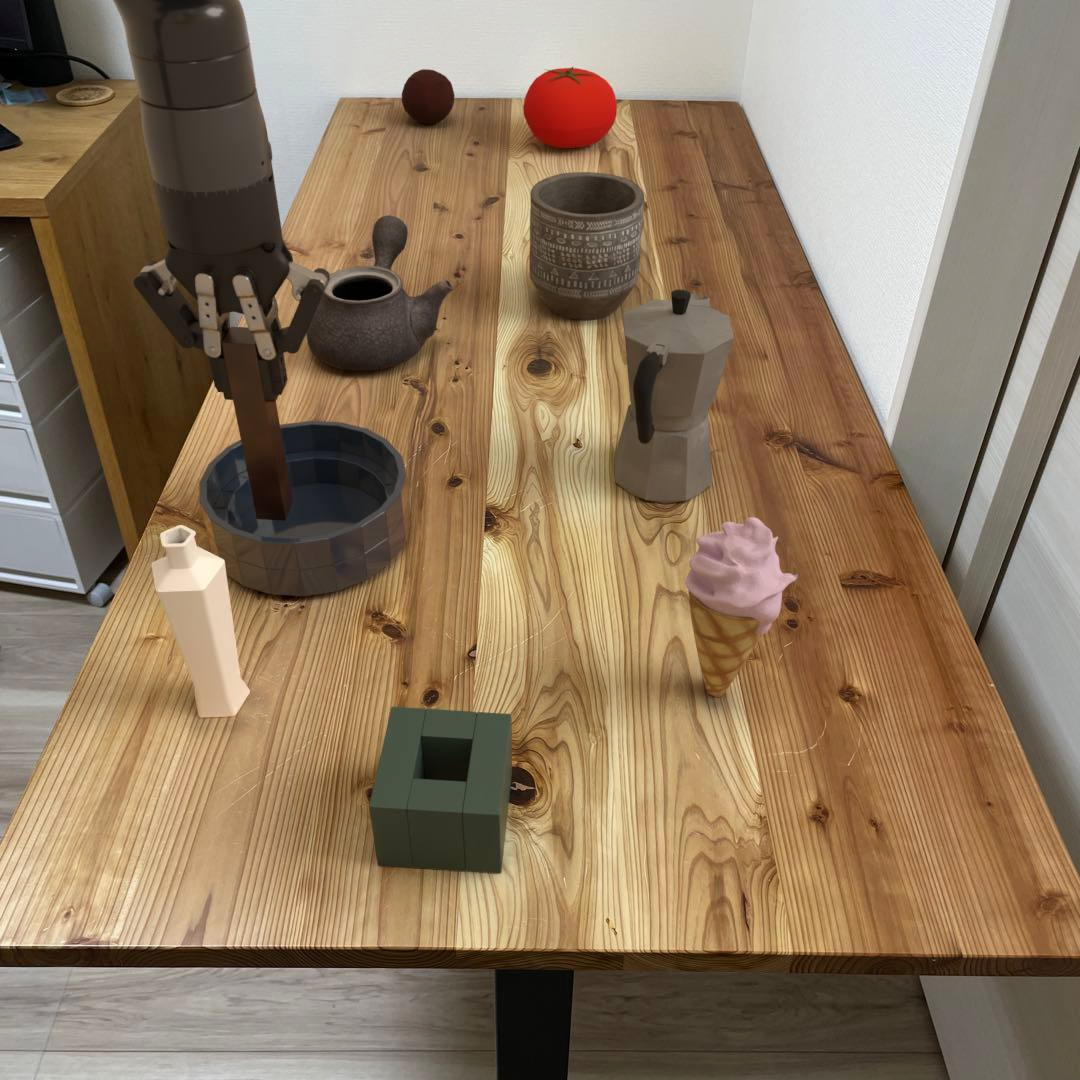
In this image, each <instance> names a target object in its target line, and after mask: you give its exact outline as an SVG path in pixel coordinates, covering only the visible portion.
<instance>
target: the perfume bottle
mask: <svg viewBox="0 0 1080 1080" xmlns="http://www.w3.org/2000/svg"><path fill="white" fill-rule="evenodd" d="M196 534H197V532H196V531H195V530H194V529H192V528H189V527H187V526H186V525H183V524H179V525H176V526H173V527H171V528H169V529H165V530H164V531H161V533H159V536H160V537H159V538H160V542H161V546H162V547H163V548H164V549H165V554H166V555H165V556H163V557H161V558H159V559H157V560H154V561H152V562H151V571H152V578H153V582H154V588H155V589H154V590H155V591H156V594H157V597H158V599H159V601H160V604H161V607H162V609H163V611H164V615H165V616H166V619H167V621H168V624H169V627H170V629H171V631H172V634H173V637H174V639H175V642H176V644H177V646H178V650H179V652H180V655H181V657H182V659H183V662H184V664H185V667H186V670H187V672H188V675H189V677H190V679H191V682H192V685H193V687H194V700H195V704H196V709H197V710H196V711H197V714H198V717H199V718H202V719H204V718H231V717H235V716H236V715H237V714H238V713H239V711H240V710H241V708H242V706H243V704H244V703H245V701H246V699H247V698H248V697H249V695H250V693H251V690H250V688H249V687H248V685H247V684H246V683H245V681H244V680H243V678H242V677H241V669H240V662H239V655H238V649H237V648H238V647H237V642H236V633H235V627H234V618H233V612H232V606H231V604H232V603H231V597H230V591H229V584H228V583H229V582H228V575H227V574H226V568H225V561H224V560H223V559H222V558H220V557H218V556H216V555H214V554H212V552H210V551H207V550H205V548H202V547H200V546H198V545H197V542H196V539H195V536H196Z"/></svg>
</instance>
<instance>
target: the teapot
mask: <svg viewBox="0 0 1080 1080" xmlns="http://www.w3.org/2000/svg"><path fill="white" fill-rule="evenodd" d="M408 230H409V229H408V226H407V225H406V223H405V222H404V221H403V220H402V219H401V218H399V217H397V216H394V215H389V214H388V215H383V216H381V217H379V218H377V219H376V221H375V223H374V224H373V229H372V234H371V242H372V249H373V252H374V253H373V254H374V264H373V265H355V266H348V267H346V268H342V269H338V270H336V271H333V272H332V273H329V275H330V280H329V282H328V284H327V287H326V289H325V291H324V294H323V296H322V298H321V301H320V303H319V305H318V308H317V310H316V312H315V315H314V317H313V319H312V322H311V324H310V326H309V329H308V331H307V333H306V342H307V345H308V348H309V350H310V352H311V353H312V354H313V356H314V357H316V359H318V360H319V361H321V362H323V363H324V364H325V365H327V366H331V367H334V368H337V369H341V370H342V369H343V370H347V371H348V370H349V371H379V370H383V369H388V368H392V367H395V366H399V365H400V364H403V363H405V362H407V361H408V360H410V359H411V358H413V357H415V355H417V354H418V352H419V351H420V350H421V349H422V347H423V346H424V345H425V344H426V342H427V340H428V339H430V338H431V337H433V336H434V334H435V333H436V329H437V325H438V324H437V323H438V318H439V314H440V309H441V307H442V304H443V302H444V301H445V299H446V298H447V296H448V295H449V294H450V293H451V292H452V291H453V290H454V285H453V284H452V283H451V282H450V281H449V280H447V279H442V280H441V281H439V282H437V283H435V284H432V286H430V287H429V288H428V289H426V290H425V291H424V292H423V293H422V294H419V295H416V296H411V295H408V294H407V292H406V290H405V289H404V288H403V285H404V282H403V279H402V278H401V276H400V275H399V274H397V272H395V271H393V270H392V267H393V265H394V263H395V261H396V259H397V258H398V256H399V255H400V254H401V253H402V252H403V251H404V249H405V248H406V246H407V241H408V235H409V234H408V233H409V231H408Z"/></svg>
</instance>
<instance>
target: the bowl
mask: <svg viewBox="0 0 1080 1080" xmlns="http://www.w3.org/2000/svg"><path fill="white" fill-rule="evenodd" d="M280 429H281V435H282V441H283V447H284V453H285V458H286V464H287V470H288V476H289V482H290V488H291V494H292V500H293V503H292V506H291V509H290V511H289V514H288V516H287V519H286V521H284V520H264V519H257V518H256V513H255V508H254V503H253V498H252V493H251V488H250V483H249V478H248V473H247V468H246V463H245V458H244V453H243V448H242V443H241V439H238V440H237V441H235V442H233V443H231V444H230V445H228V446H226V447H225V448H223V450H222V451H221V452H220V453H219V454H218V455H217V456H215V457H214V458H213V459H212V460H211V461H210V462H209V463H208V464H207V466H206V468H205V470H204V472H203V474H202V476H201V478H200V480H199V482H198V494H199V495H198V498H199V499H198V500H199V501H198V502H199V505H200V509H201V514H202V518H203V522H204V526H205V530H206V534H207V539H208V541H209V542H208V543H209V546H210V550H211V553H212V554H214V555H216V556H218V557H220V558H222V559H223V560H224V561H225V568H226V575H227V577H230V578H231V579H233V580H234V581H236V582H237V583H239V584H240V585H241V586H243V587H246V588H250V589H252V590H256V591H260V592H262V593H265V594H268V595H274V596H275V595H276V596H294V597H308V596H309V597H310V596H314V595H315V596H316V595H323V594H328V593H334V592H335V593H336V592H338V591H342V590H344V589H346V588H350V587H351V586H354V585H357V584H359V583H362V582H364V581H367V580H369V579H370V578H372V577H373V576H374V575H376V574H377V573H379V572H380V571H382V570H383V569H385V568H386V567H388V566H389V565H390V564H392V563H393V561H394V560H395V559H396V557H397V556H398V554H400V552H401V551H402V549H403V548H404V547H405V545H406V544H407V541H408V536H409V532H410V528H411V525H412V524H411V523H412V522H411V513H410V512H411V511H410V501H409V500H410V499H409V489H408V477H407V471H406V467H405V463H404V459H403V456H402V454H401V453H400V452H399V451H398V450H397V448H396V447H395V446H394V445H393V444H392V443H391V442H390V440H388V439H387V438H386V437H383V436H382V435H380V434H378V433H376V432H374V431H373V430H371V429H368V428H366V427H363V426H362V427H361V426H358V425H354V424H349V423H345V422H342V421H327V420H326V421H325V420H323V421H322V420H305V421H299V422H291V423H283V424H280Z"/></svg>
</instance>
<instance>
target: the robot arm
mask: <svg viewBox="0 0 1080 1080" xmlns="http://www.w3.org/2000/svg"><path fill="white" fill-rule="evenodd" d="M112 2H113V4H114V6H115V8H116V10H117V12H118V14H119V16H120V19H121V21H122V24H123V28H124V32H125V39H126V44H127V48H128V53H129V58H130V62H131V67H132V72H133V77H134V80H135V85H136V90H137V93H138V101H139V106H140V108H139V109H140V118H141V120H140V121H141V129H142V136H143V141H144V146H145V152H146V155H147V160H148V164H149V169H150V173H151V178H152V182H153V187H154V193H155V196H156V201H157V205H158V208H159V209H158V210H159V214H160V219H161V224H162V228H163V233H164V236H165V238H166V241H167V249H166V252H165V254H164V259H162V260H160V261H156V260H149V261H148V262H146V264H145V265H144V266H143V267H142V269H141V270H140V272H139V273H138V274H137V275H136V276H135V278H134V279H133V285H134V288H135V289H136V290H137V292H138V293H139V294H140V296H141V297H142V298H143V299H144V301H145V302H146V303H147V305H148V306H149V307H150V308H151V310H152V311H153V312H154V313H155V315H156V316H157V318H158V319H159V320H160V321H161V322H162V324H163V325H164V327H165V328H166V329H167V330H168V332H169V333H170V335H171V336H172V337H173V339H174V340H175V341H176V342H177V343H178V345H179V346H181V347H182V348H184V349H186V350H187V349H192V348H196V349H199V350H201V351H203V352H204V353H205V354H206V355H207V357H208V361H209V366H210V371H211V374H212V379H213V385H214V388H215V389H216V391H217V392H218V393H222V394H223V398H224V400H225V401H226V400H227V401H233V398H232V393H231V387H230V382H229V377H228V372H227V367H226V362H225V357H224V352H223V347H222V342H223V340H224V338H225V336H226V335H227V333H228V331H229V329H230V328H231V319H230V315H231V313H237V314H240V315H243V316H244V319H245V323H246V325H247V327H248V329H249V331H250V332H252V333H253V335H254V338H255V342H256V345H257V348H258V351H259V354H260V357H259V359H258V363H259V369H260V374H261V380H262V386H263V391H264V397H265V401H266V402H276V403H277V400H278V398H279V396H281V395H282V394H283V392H284V390H285V389H286V386H287V383H288V373H287V368H286V367H287V366H286V359H285V354H284V353H288V354H297V353H298V352H299V350H300V348H301V346H302V343H303V341H304V339H305V337H306V336H307V331H308V329H309V326H310V324H311V322H312V319H313V317H314V315H315V312H316V310H317V308H318V305H319V303H320V301H321V298H322V296H323V294H324V291H325V289H326V287H327V284H328V282H329V280H330V273H329V271H328V270H326V269H325V268H322V267H317V268H315V269H314V270H311V269H309V268H307V267H305V266H303V265H301V264H299V263H297V262H295V261H294V258H293V255H292V253H291V251H290V250H289V248H288V246H287V244H286V243H285V241H284V238H283V232H282V231H283V230H282V223H281V216H280V210H279V203H278V197H277V190H276V189H277V188H276V183H275V175H274V168H273V151H272V145H271V143H270V140H269V135H268V130H267V124H266V120H265V116H264V112H263V108H262V106H261V102H260V98H259V93H258V89H257V83H256V75H255V68H254V62H253V56H252V49H251V42H250V36H249V30H248V25H247V20H246V15H245V11H244V8H243V6H242V3H241V1H240V0H112ZM286 280H288V281H289V282H290V284H291V295H292V297H293V298H294V300H295V301H296V302H298V305H297V307H296V309H295V312H294V314H293V316H292V319H291V321H290V323H289V326H285V327H282V324H281V321H280V318H279V306H278V302H277V298H276V295H277V293H278V292H279V290H280V289H281V287H282V286H283V285H284V283H285V281H286ZM178 282H179V284H181V286H182V287H184V289H185V290H186V291H187V292H188V293H189V294H190V295H191V296H192V297H193V298H194V299H195V300H196V301H197V307H198V313H197V312H196V310H195V309H194V307H193V306H192V305H191V303H190V302H189V301H188V299H187V298H186V297H185V295H184V294H183V292H182V291H181V290H180V289H179V287H178Z"/></svg>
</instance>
